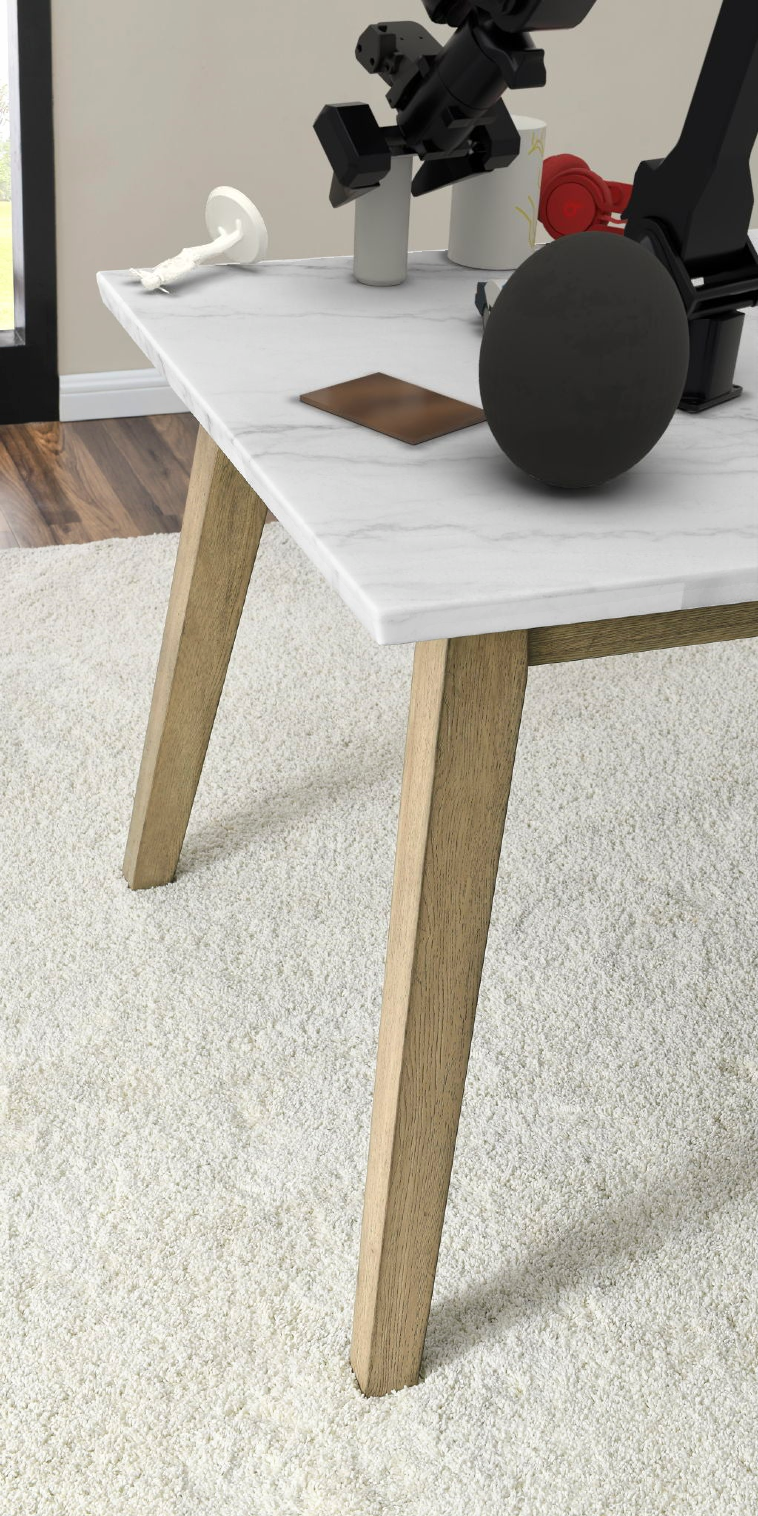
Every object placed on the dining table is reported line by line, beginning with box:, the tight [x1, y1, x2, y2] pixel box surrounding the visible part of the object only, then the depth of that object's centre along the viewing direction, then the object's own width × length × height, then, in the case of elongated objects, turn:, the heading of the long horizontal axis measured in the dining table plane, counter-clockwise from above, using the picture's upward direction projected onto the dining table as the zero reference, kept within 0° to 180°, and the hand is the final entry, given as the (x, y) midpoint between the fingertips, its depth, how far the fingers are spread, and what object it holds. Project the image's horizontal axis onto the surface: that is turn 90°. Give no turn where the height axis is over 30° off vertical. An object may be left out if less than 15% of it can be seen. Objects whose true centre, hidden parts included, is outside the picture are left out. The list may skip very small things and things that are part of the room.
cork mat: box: [299, 371, 487, 446], centre depth 98 cm, size 11×8×1 cm
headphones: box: [537, 153, 633, 241], centre depth 141 cm, size 15×7×20 cm
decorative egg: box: [478, 231, 689, 489], centre depth 84 cm, size 12×12×15 cm
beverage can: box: [352, 156, 414, 287], centre depth 122 cm, size 5×5×12 cm
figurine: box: [129, 185, 269, 294], centre depth 121 cm, size 7×7×12 cm
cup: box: [447, 114, 547, 271], centre depth 130 cm, size 8×8×12 cm
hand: (373, 197), depth 123 cm, fingers open, 9 cm apart
